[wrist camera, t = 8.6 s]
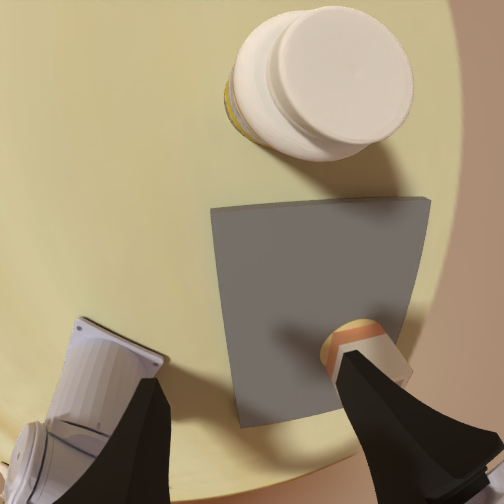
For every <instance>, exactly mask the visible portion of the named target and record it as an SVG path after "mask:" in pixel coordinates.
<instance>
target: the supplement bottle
mask: <svg viewBox="0 0 504 504" xmlns="http://www.w3.org/2000/svg"><path fill="white" fill-rule="evenodd" d="M413 95H414V79H413V73H412V69H411V65H410V62H409V60H408V57H407V55H406V53H405V51H404V49H403V47H402V46H401V44H400V43H399V41H398V40H397V39H396V37H395V36H394V35H393V34H392V33H391V32H390V31H389V30H388V29H387V28H386V27H385V26H384V25H383V24H382V23H380V22H379V21H378V20H376V19H375V18H373V17H372V16H370V15H368V14H366V13H364V12H361V11H358V10H356V9H352V8H348V7H342V6H326V7H320V8H317V9H313V10H300V11H291V12H286V13H283V14H280V15H277V16H275V17H272V18H270V19H268V20H267V21H265V22H263V23H262V24H261V25H259V26H258V27H257V28H256V29H255V30H254V31H253V32H252V33H251V34H250V35H249V36H248V38H247V39H246V40H245V42H244V43H243V45H242V46H241V48H240V50H239V52H238V55H237V57H236V60H235V63H234V65H233V68H232V70H231V73H230V76H229V79H228V82H227V84H226V88H225V93H224V104H225V109H226V113H227V115H228V118H229V120H230V122H231V123H232V124H233V126H234V127H235V128H236V129H237V130H238V131H239V132H240V133H241V134H242V135H243V136H245V137H246V138H248V139H249V140H251V141H253V142H255V143H258V144H261V145H263V146H266V147H268V148H271V149H274V150H276V151H279V152H281V153H284V154H286V155H289V156H291V157H295V158H298V159H302V160H306V161H313V162H329V161H337V160H341V159H344V158H347V157H350V156H352V155H354V154H356V153H358V152H360V151H361V150H363V149H364V148H366V147H367V146H368V145H369V144H372V143H376V142H379V141H381V140H384V139H385V138H387V137H389V136H390V135H392V134H393V133H394V132H395V131H397V130H398V129H399V128H400V126H401V125H402V124H403V123H404V121H405V119H406V118H407V116H408V114H409V111H410V108H411V105H412V101H413Z"/></svg>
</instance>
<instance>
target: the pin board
mask: <svg viewBox="0 0 504 504" xmlns="http://www.w3.org/2000/svg"><path fill="white" fill-rule="evenodd" d="M430 205H431V200H429V199H427V198H425V197H375V198H348V199H327V200H310V201H294V202H280V203H267V204H255V205H243V206H232V207H222V208H212V209H210V212H211V223H212V232H213V241H214V250H215V259H216V267H217V275H218V283H219V291H220V299H221V306H222V314H223V321H224V328H225V335H226V342H227V349H228V355H229V362H230V368H231V375H232V381H233V387H234V393H235V399H236V405H237V410H238V416H239V422H240V427H241V428H247V427H254V426H261V425H268V424H274V423H279V422H285V421H290V420H295V419H300V418H304V417H309V416H313V415H318V414H322V413H326V412H329V411H333V410H337V409H341V408H343V405H342V403H341V401H340V398H339V396H338V394H337V392H336V389H335V387H334V385H333V383H332V380H331V378H330V376H329V374H328V372H327V369H326V364H327V360H328V355H329V350H330V344H331V339H332V334H333V333H334V332H339V331H344V330H348V329H353V328H358V327H362V326H366V325H371V324H375V323H379V324H380V325H381V326H382V328H383V329H384V331H385V332H386V333H387V335H388V336H389V337H390V339H391V340H392V341H393V343H394V344H396V342H397V339H398V336H399V333H400V330H401V327H402V324H403V321H404V318H405V315H406V312H407V309H408V305H409V302H410V298H411V295H412V291H413V288H414V284H415V280H416V276H417V272H418V268H419V264H420V260H421V255H422V250H423V246H424V241H425V235H426V230H427V224H428V218H429V212H430Z"/></svg>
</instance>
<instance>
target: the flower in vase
mask: <svg viewBox="0 0 504 504" xmlns="http://www.w3.org/2000/svg"><path fill="white" fill-rule="evenodd" d="M8 467H9V466H8V465H6V464H4V463H1V462H0V472H1V473H2V475H3V477H4V478H5V482H6V479H7V473H8ZM0 497H2V498H4V491H3V493H2V494H1V495H0ZM4 499H5V498H4ZM3 504H5V500H4V502H3Z"/></svg>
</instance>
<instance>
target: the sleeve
mask: <svg viewBox="0 0 504 504" xmlns="http://www.w3.org/2000/svg"><path fill="white" fill-rule="evenodd" d="M353 350H358V351H359V352H360V353H362V354H363V355H364V356H365V357H366V358H367V359H368V360H369V361H371V362H372V363H373V364H374V365H375V366H376V367H377V368H378V369H380V370H381V371H382V372H383V373H384V374H385V375H387V376H388V377H389V378H390V379H391V380H393V381H394V382H395V383H396V384H397V385H399V386H400V387H401V388H403V389H404V388H405V386H406V384H407V383H408V380H409V379H410V377H411V375H412V373H413V370H412V368H411V367H410V365H409V364H408V362H407V361H406V360H405V358H404V357H403V355H402V354H401V352H400V351H399V350H398V348H397V347H396V346H395V344H394V343H393V341H392V340H391V339H390V337H389V336H388V335H387V333H386V332H385V331H384V329H383V328H382V326H381V325H380V324H379V323H375V324H371V325H366V326H362V327H358V328H353V329H348V330H344V331H339V332H334V333H333V334H332V339H331V344H330V350H329V355H328V360H327V364H326V369H327V372H328V374H329V376H330V378H331V380H332V383H333V385H334V387H335V389H336V392H337V394H338V390H337V387H336V384H335V383H336V380H337V376H338V372H339V368H340V364H341V360H342V356H343V353H345V352H349V351H353ZM338 396H339V394H338ZM339 398H340V397H339ZM340 401H341V400H340ZM347 417H348V416H347ZM348 419H349V418H348Z"/></svg>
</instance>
